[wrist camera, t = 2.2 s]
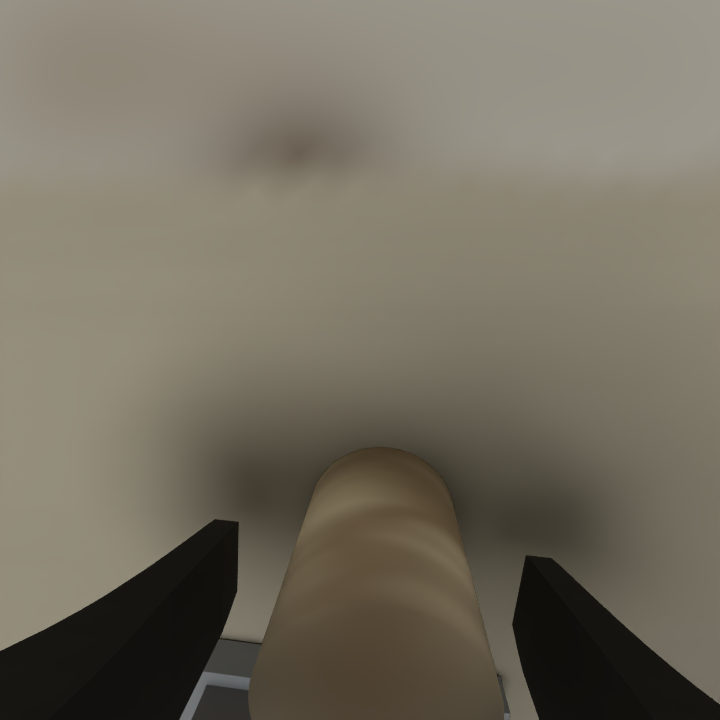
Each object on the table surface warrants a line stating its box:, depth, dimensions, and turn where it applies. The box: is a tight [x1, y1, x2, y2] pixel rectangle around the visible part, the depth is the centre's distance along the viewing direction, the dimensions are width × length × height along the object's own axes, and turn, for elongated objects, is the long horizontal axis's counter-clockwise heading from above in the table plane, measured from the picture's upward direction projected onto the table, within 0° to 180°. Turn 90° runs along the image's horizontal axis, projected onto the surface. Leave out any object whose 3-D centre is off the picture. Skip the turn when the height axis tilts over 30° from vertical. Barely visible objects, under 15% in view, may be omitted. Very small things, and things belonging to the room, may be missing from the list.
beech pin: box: [248, 447, 504, 720], centre depth 10 cm, size 4×4×6 cm
